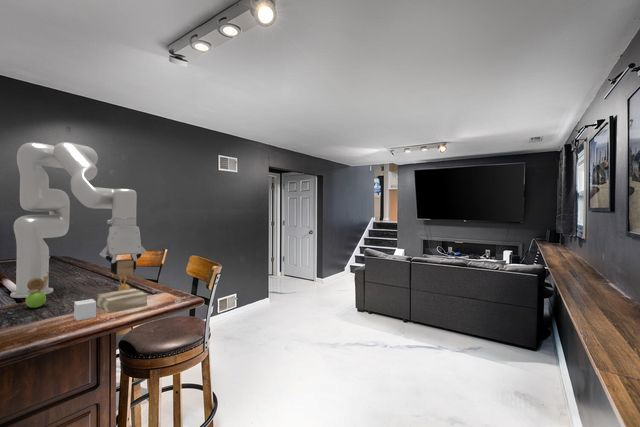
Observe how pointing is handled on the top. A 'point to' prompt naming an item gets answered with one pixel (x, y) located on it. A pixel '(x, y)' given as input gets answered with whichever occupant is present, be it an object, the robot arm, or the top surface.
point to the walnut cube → (124, 267)
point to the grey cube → (84, 309)
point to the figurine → (123, 286)
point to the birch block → (121, 300)
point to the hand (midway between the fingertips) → (123, 272)
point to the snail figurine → (36, 292)
